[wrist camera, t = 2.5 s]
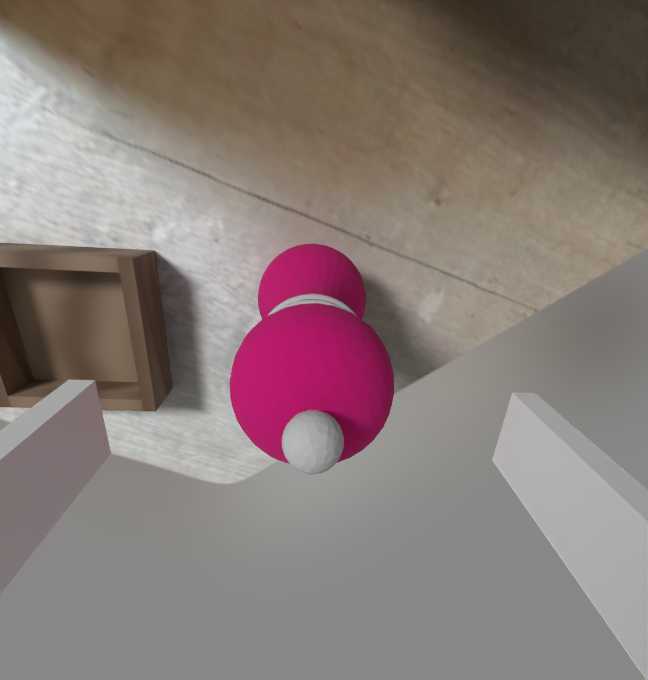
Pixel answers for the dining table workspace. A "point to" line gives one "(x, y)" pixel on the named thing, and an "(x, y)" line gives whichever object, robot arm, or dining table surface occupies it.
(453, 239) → the dining table surface
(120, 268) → the holder tray
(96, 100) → the dining table surface
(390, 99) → the dining table surface
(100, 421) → the robot arm
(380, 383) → the pepper mill
